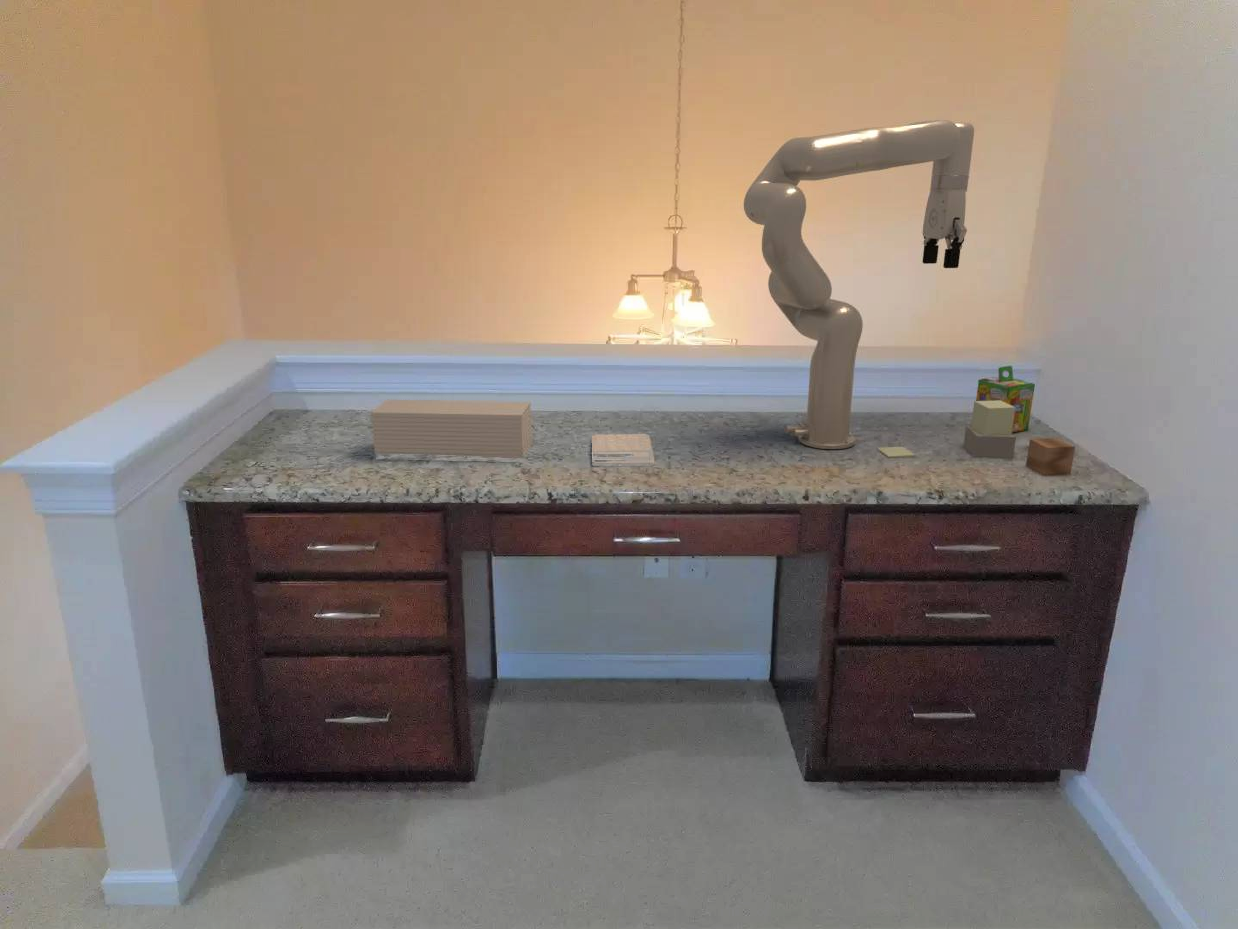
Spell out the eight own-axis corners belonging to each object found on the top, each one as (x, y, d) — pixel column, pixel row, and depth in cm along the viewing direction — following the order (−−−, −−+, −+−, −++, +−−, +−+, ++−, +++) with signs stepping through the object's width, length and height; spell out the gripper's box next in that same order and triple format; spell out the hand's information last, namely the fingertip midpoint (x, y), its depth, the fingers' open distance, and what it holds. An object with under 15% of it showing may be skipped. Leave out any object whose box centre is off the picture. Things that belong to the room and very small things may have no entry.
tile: (888, 457, 185) (888, 456, 184) (876, 449, 190) (877, 447, 190) (914, 456, 185) (915, 455, 185) (902, 448, 191) (902, 446, 191)
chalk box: (1002, 435, 200) (1011, 373, 195) (970, 426, 208) (979, 365, 203) (1029, 430, 204) (1039, 369, 199) (997, 421, 212) (1006, 361, 207)
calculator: (649, 440, 199) (649, 432, 198) (655, 469, 180) (655, 460, 179) (591, 441, 198) (591, 433, 198) (591, 469, 180) (591, 460, 179)
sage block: (984, 435, 184) (988, 408, 182) (970, 427, 189) (974, 401, 188) (1011, 434, 184) (1015, 407, 183) (996, 426, 190) (1000, 400, 188)
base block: (974, 458, 185) (977, 436, 183) (963, 447, 193) (966, 425, 191) (1012, 459, 184) (1016, 437, 183) (1000, 448, 192) (1003, 426, 190)
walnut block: (1042, 476, 174) (1047, 447, 172) (1025, 466, 179) (1030, 439, 177) (1070, 474, 174) (1075, 446, 172) (1052, 465, 180) (1057, 437, 178)
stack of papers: (375, 460, 184) (370, 412, 181) (391, 445, 194) (387, 399, 191) (523, 464, 182) (521, 414, 179) (532, 448, 192) (530, 401, 189)
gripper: (914, 183, 193) (906, 262, 199) (952, 185, 177) (942, 270, 183) (946, 183, 194) (937, 261, 200) (986, 184, 178) (975, 269, 183)
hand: (939, 265), depth 191 cm, fingers open, 9 cm apart
